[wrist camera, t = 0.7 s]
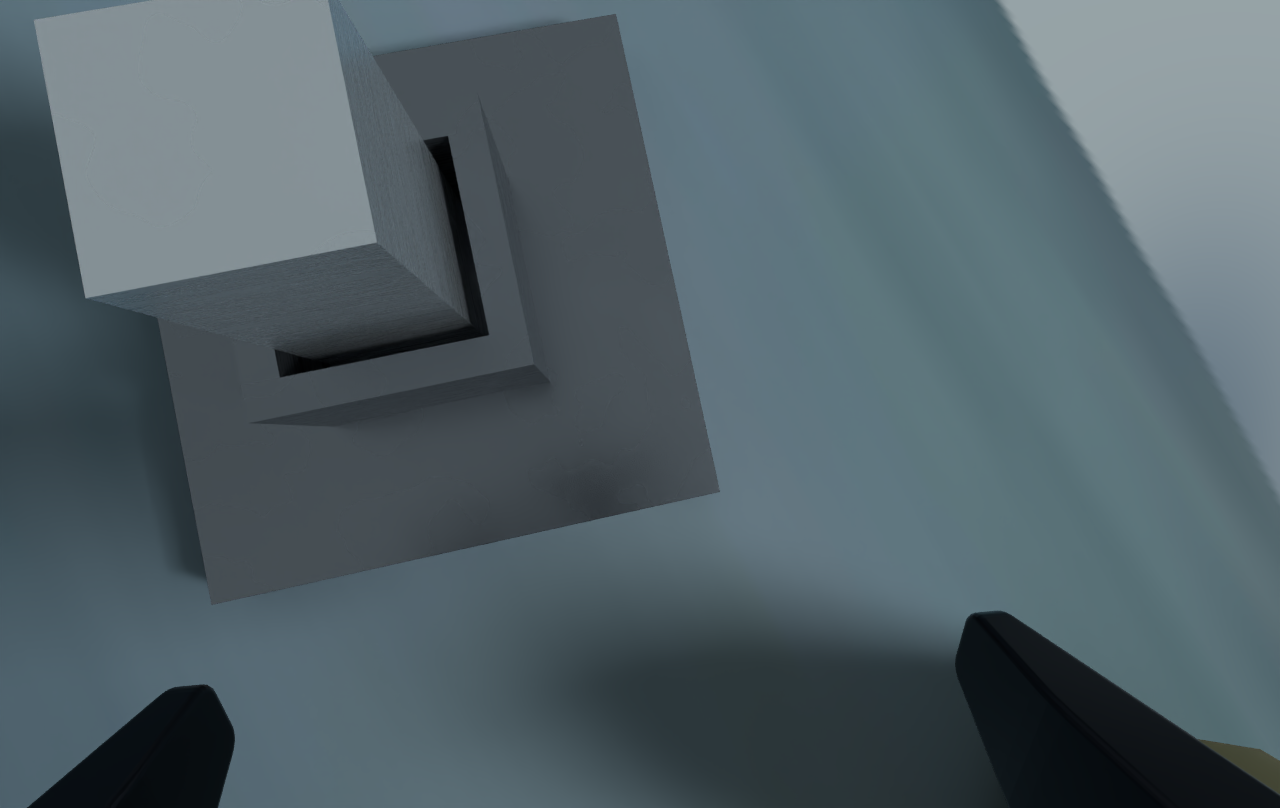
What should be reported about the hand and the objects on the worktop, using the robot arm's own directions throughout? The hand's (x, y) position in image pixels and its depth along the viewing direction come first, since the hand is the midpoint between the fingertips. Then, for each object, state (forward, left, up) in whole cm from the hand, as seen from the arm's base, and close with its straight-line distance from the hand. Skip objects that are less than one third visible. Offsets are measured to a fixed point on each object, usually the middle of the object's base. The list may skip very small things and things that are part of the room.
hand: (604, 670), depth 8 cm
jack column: (+5, +7, -10) cm, 13 cm away
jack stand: (+5, +7, -12) cm, 15 cm away
